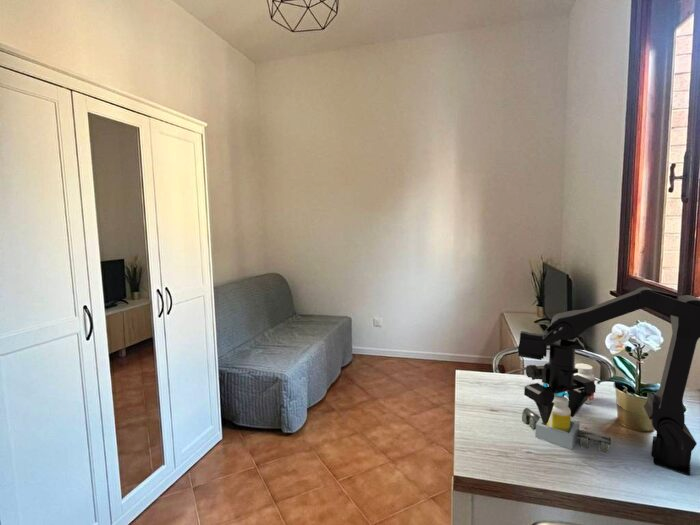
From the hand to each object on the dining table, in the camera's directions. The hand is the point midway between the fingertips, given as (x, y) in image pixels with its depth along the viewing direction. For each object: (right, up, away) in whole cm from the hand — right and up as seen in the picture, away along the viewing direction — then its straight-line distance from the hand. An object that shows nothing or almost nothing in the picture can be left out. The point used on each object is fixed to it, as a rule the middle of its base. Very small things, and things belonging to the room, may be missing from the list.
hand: (558, 419), depth 99 cm
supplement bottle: (0, -4, 0) cm, 4 cm away
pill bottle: (+19, -2, +20) cm, 27 cm away
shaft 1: (-4, -4, +6) cm, 8 cm away
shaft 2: (+6, -5, -4) cm, 9 cm away
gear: (+8, -3, +17) cm, 19 cm away
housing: (0, -5, +1) cm, 5 cm away
